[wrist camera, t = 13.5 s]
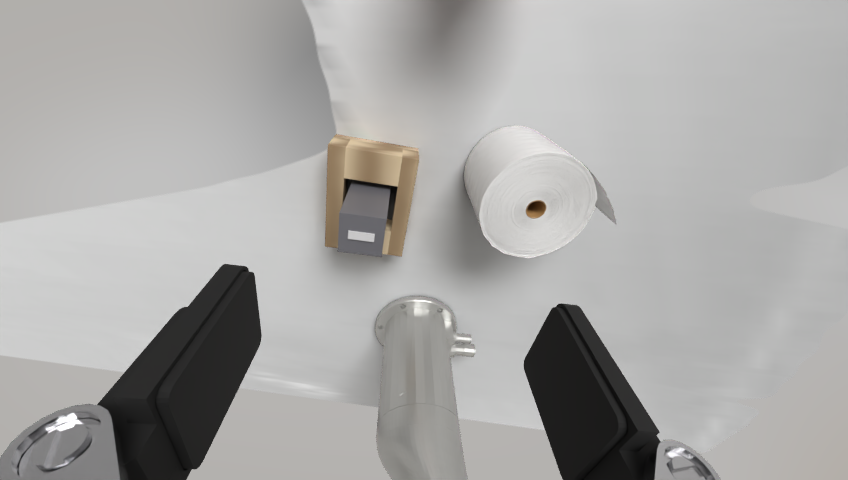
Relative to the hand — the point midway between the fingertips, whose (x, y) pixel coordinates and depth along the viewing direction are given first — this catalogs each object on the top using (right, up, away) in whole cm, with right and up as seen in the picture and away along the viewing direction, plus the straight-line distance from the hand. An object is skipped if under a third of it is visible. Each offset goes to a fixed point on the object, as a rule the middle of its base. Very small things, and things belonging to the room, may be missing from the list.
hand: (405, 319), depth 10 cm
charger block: (-6, +8, +27) cm, 29 cm away
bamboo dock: (-6, +8, +28) cm, 30 cm away
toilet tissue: (+11, +11, +27) cm, 32 cm away
